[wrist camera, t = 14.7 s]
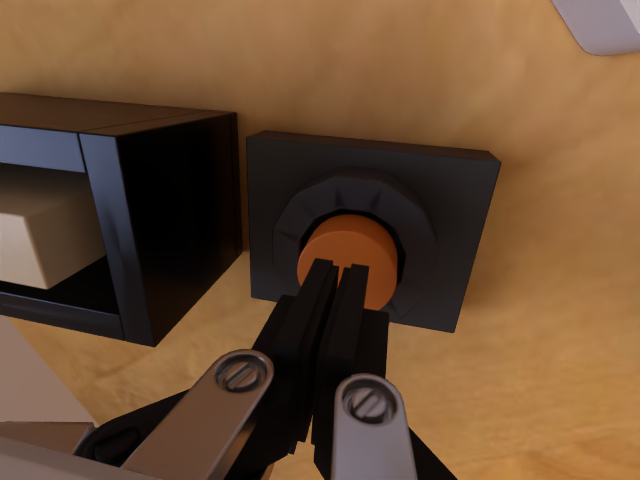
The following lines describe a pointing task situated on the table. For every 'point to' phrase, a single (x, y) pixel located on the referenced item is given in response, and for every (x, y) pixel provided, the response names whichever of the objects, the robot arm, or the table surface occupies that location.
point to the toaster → (132, 209)
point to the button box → (371, 213)
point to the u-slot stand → (603, 24)
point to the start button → (355, 253)
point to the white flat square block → (46, 225)
